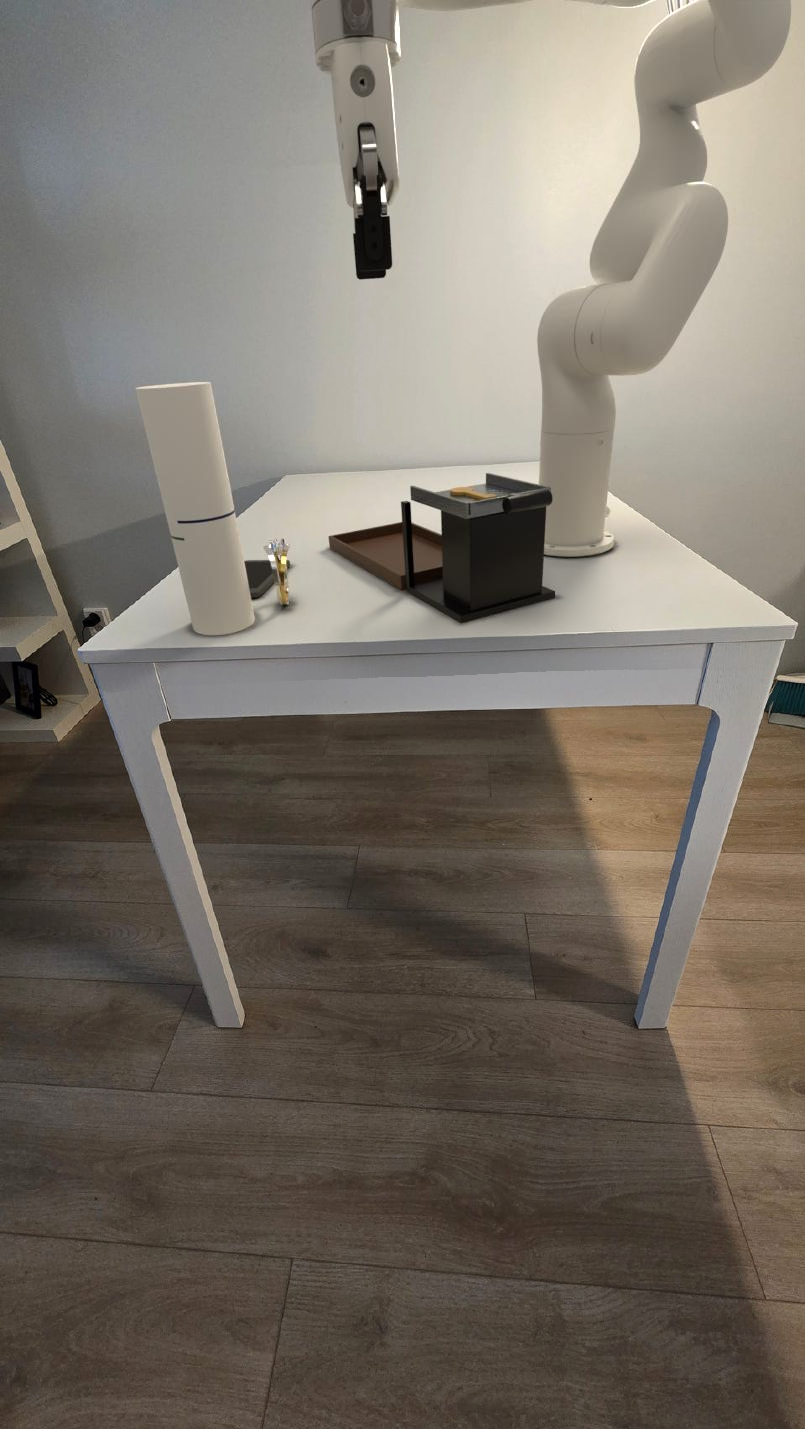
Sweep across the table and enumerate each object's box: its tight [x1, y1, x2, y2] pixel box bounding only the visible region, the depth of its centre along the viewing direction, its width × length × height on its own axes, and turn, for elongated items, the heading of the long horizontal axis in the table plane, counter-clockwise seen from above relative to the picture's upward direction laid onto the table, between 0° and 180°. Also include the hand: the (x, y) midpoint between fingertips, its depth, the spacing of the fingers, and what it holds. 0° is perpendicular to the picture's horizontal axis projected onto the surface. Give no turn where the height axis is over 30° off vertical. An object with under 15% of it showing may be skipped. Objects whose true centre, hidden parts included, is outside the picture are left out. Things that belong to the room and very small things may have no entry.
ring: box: [262, 538, 291, 606], centre depth 78 cm, size 7×3×8 cm, turn 3°
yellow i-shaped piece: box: [449, 486, 498, 500], centre depth 74 cm, size 7×3×1 cm, turn 28°
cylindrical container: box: [135, 381, 256, 636], centre depth 69 cm, size 7×7×25 cm
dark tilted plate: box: [409, 472, 553, 519], centre depth 71 cm, size 16×11×2 cm
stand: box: [400, 500, 556, 624], centre depth 76 cm, size 13×13×11 cm
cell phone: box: [244, 559, 291, 598], centre depth 88 cm, size 7×14×1 cm, turn 171°
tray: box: [327, 521, 443, 591], centre depth 93 cm, size 24×14×2 cm, turn 28°
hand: (373, 274), depth 65 cm, fingers open, 9 cm apart
